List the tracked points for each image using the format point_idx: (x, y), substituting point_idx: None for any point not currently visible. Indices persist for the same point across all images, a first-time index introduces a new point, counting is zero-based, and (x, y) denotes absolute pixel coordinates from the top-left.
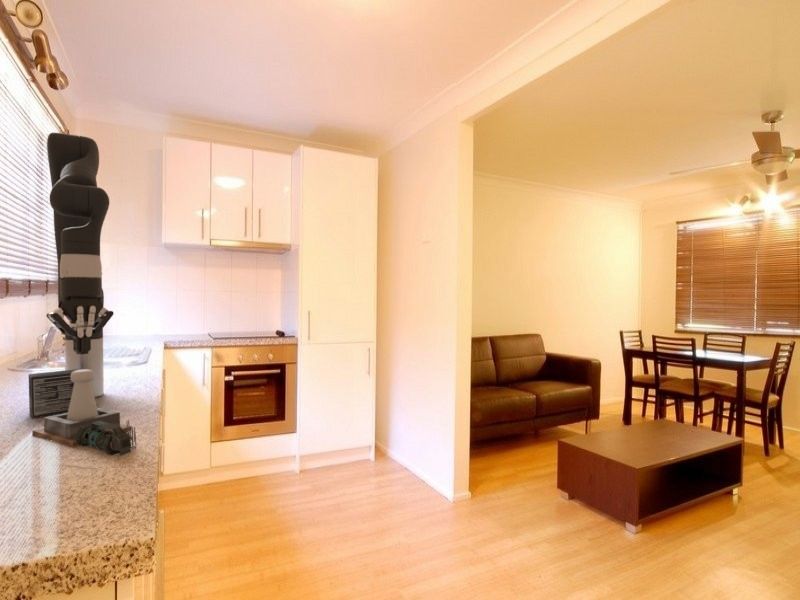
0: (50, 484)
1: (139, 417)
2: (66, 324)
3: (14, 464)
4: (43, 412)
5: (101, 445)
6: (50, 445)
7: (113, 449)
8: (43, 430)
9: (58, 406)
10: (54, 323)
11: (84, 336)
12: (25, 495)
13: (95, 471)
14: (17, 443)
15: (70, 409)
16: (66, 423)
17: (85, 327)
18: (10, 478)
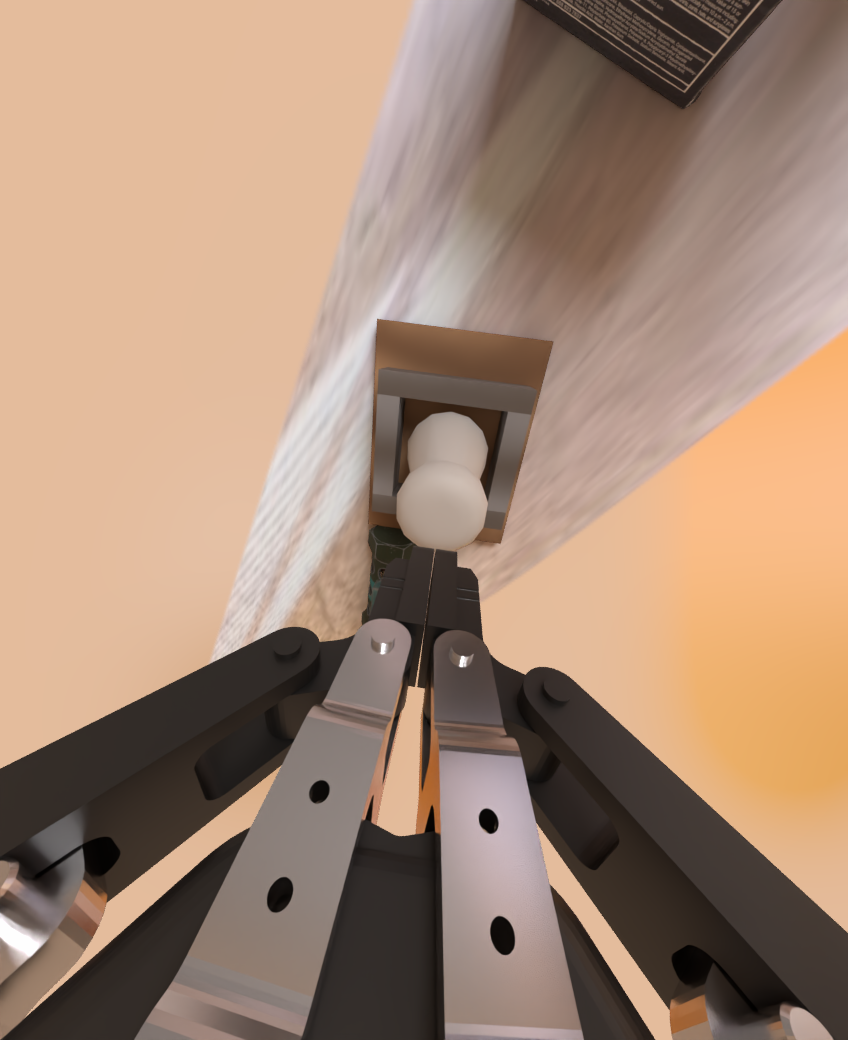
0: (272, 624)
1: (614, 457)
2: (201, 812)
3: (270, 507)
4: (560, 3)
5: (362, 614)
6: (356, 462)
7: None
8: (391, 355)
9: (621, 22)
10: (78, 762)
11: (425, 681)
12: (241, 625)
13: (326, 638)
14: (325, 365)
15: (409, 459)
16: (373, 496)
17: (421, 777)
18: (246, 560)
